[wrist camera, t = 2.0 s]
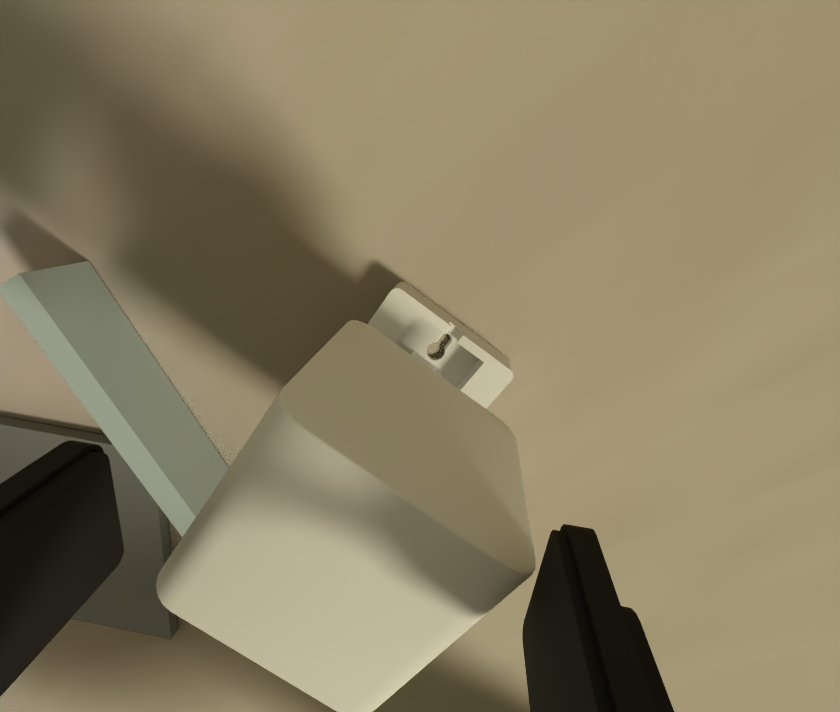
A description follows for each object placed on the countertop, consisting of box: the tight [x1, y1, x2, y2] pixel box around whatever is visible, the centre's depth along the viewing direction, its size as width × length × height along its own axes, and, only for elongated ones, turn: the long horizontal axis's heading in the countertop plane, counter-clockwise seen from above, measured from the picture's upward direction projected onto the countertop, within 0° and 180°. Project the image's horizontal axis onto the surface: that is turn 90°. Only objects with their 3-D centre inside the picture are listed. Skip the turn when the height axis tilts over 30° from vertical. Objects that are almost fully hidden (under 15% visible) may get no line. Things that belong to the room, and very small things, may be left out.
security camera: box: [156, 282, 535, 712], centre depth 14 cm, size 6×7×10 cm
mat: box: [0, 416, 178, 639], centre depth 23 cm, size 12×12×1 cm
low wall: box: [0, 261, 229, 537], centre depth 20 cm, size 20×1×3 cm, turn 26°
